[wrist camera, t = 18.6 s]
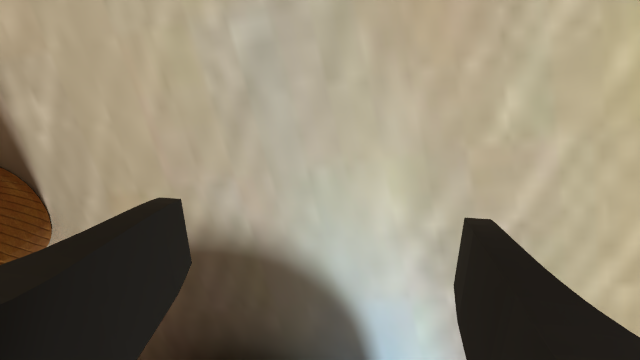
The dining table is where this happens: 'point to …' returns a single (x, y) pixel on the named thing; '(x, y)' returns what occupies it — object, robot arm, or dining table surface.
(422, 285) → the dining table surface
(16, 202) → the disposable coffee cup
